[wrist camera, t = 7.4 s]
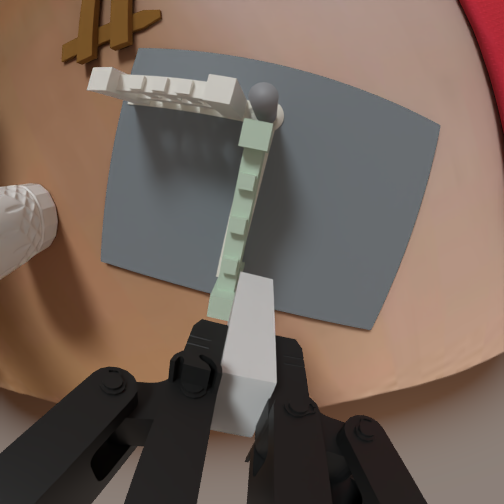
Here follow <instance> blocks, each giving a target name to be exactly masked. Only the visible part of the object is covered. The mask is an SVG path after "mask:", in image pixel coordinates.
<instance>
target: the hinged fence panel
mask: <svg viewBox="0 0 504 504" xmlns="http://www.w3.org/2000/svg"><path fill="white" fill-rule="evenodd" d="M248 98H249V101H250V104H251V106H252V109H253V111H254V113H255V116H256V118H257V120H253V119H247V118H244V121H243V125H242V130H241V135H240V139H239V144H238V146H241V147H244V150H243V154H242V159H241V164H240V169H239V174H238V179H237V184H236V189H235V194H234V199H233V204H232V209H231V214H230V219H229V224H228V230H227V235H226V240H225V246H224V251H223V256H222V262H221V267H220V273H219V276H218V279H217V281H216V283H215V285H214V288H213V290H212V292H211V295H210V300H209V306H208V312H207V316H208V317H212V318H217V319H221V320H225V321H228V320H229V316H230V312H231V308H232V304H233V300H234V296H235V292H236V288H237V284H238V280H239V276H240V272H243V270H244V265H245V262H242V259H243V255H244V250H245V245H246V240H247V236H248V231H249V226H250V221H251V217H252V212H253V207H254V203H255V198H256V193H257V189H258V184H259V179H260V175H261V170H262V165H263V161H264V156H265V153H269V149H270V144H271V140H272V135H273V122H274V121H275V120H276V117H277V108H278V99H279V94H278V91H277V89H276V88H275V87H274V86H273V85H272V84H270V83H267V82H260V83H257V84H255V85H254V86H252V88H251V89H250V91H249V94H248Z"/></svg>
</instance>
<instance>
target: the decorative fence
mask: <svg viewBox="0 0 504 504" xmlns="http://www.w3.org/2000/svg"><path fill="white" fill-rule="evenodd" d="M132 2H133V0H111V17H110V23H108V24H106V25H103V26H101V27H99V28H98V23H99V9H100V0H82V5H81V12H80V21H79V31H78V37H77V38H75V39H74V40H72V41H70V42H68V43H66V44H64V45H62V62H66V61H68V60H70V59H72V58H74V57H76V56H77V61H76V62H77V63H79V64H82V65H83V64H85V63H87V62H89V61H92V60H94V59H96V58H97V49H98V46H100V45H103V44H105V43H108V42H110V48H111V49H113V50H115V51H116V50H119V49H122V48H125V47H127V46H130V45H133V34H132V33H134V32H137V31H140V30H143V29H146V28H147V27H149V26H150V25H152V24H154V23H155V22H157V21H159V20H160V19H162V17H161V11H160V10H143V11H140V12H137V13H134V14H132Z"/></svg>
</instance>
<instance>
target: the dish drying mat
mask: <svg viewBox="0 0 504 504" xmlns="http://www.w3.org/2000/svg"><path fill="white" fill-rule="evenodd" d="M459 1H460V4H461V6H462V8H463V10H464V12H465V14H466V16H467V18H468V20H469V22H470V24H471V26H472V29H473V31H474V33H475V36H476V39H477V41H478V44H479V47H480V50H481V53H482V56H483V59H484V61H485V64H486V67H487V70H488V73H489V77H490V80H491V84H492V87H493V91H494V95H495V98H496V102H497V106H498V110H499V114H500V118H501V123H502V127H503V132H504V0H459Z"/></svg>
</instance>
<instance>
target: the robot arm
mask: <svg viewBox="0 0 504 504" xmlns="http://www.w3.org/2000/svg"><path fill="white" fill-rule="evenodd" d="M304 367H305V365H304V360H303V352H302V348H301V347H300V345H299V344H298V342H297V341H296V339H291V338H286V337H281V336H276V335H275V315H274V291H273V279H269V278H265V277H261V276H257V275H253V274H249V273H245V272H240V276H239V280H238V284H237V288H236V292H235V296H234V300H233V304H232V308H231V312H230V316H229V320H228V324H227V325H223V324H219V323H215V322H211V321H207V320H203V319H202V320H200V321H199V322H198V323H196V324H195V325H194V326H193V328H192V331H191V333H190V336H189V338H188V341H187V344H186V346H185V349H184V351H181V352H179V353H177V354H175V355H174V356H173V357H172V359H171V360H170V368H169V378H168V379H167V380H165V381H162V382H158V383H144V382H136V380H135V378H134V376H133V375H131V374H130V373H129V372H128V371H126V370H123V369H121V368H117V367H105V368H100V369H99V370H97V371H95V372H93V373H92V374H91V375H90V376H89V377H88V378H86V379H85V380H84V381H83V382H82V383H81V384H79V385H78V386H77V387H76V388H75V389H74V390H73V391H71V392H70V393H69V394H68V395H67V396H66V397H64V398H63V399H62V400H61V401H60V402H59V403H57V404H56V405H55V406H54V407H53V408H52V409H51V410H49V411H48V412H47V413H46V414H45V415H44V416H43V417H42V418H40V419H39V420H38V421H37V422H36V423H35V424H33V425H32V426H31V427H30V428H29V429H28V430H26V431H25V432H24V433H23V434H22V435H21V436H20V437H18V438H17V439H16V440H15V441H14V442H13V443H12V444H11V445H9V446H8V447H7V448H6V449H5V450H4V451H3V452H1V453H0V504H91V503H92V502H93V501H94V500H95V499H96V497H97V496H98V495H99V494H100V493H101V491H102V490H103V489H104V488H105V486H106V485H107V484H108V483H109V481H110V480H111V479H112V478H113V476H114V475H115V474H116V473H117V471H118V470H119V469H120V468H121V466H122V465H123V464H124V463H125V461H126V460H127V459H128V457H129V456H130V455H131V454H132V452H133V451H134V450H135V449H136V447H137V446H144V448H143V451H142V453H141V456H140V459H139V462H138V465H137V468H136V470H135V473H134V476H133V479H132V482H131V485H130V488H129V491H128V493H127V496H126V499H125V503H124V504H197V499H198V493H199V488H200V482H201V477H202V471H203V466H204V461H205V455H206V450H207V444H208V439H209V434H210V430H215V431H220V432H225V433H230V434H236V435H240V436H246V437H252V436H253V434H254V431H255V442H254V444H253V446H252V448H251V449H250V451H249V453H248V455H247V457H246V460H245V462H249V460H250V467H249V480H248V494H247V495H248V496H247V504H427V502H426V500H425V499H424V498H423V495H422V494H421V492H420V490H419V488H418V487H417V485H416V484H415V481H414V480H413V478H412V476H411V475H410V473H409V471H408V470H407V468H406V466H405V465H404V463H403V461H402V459H401V458H400V456H399V455H398V453H397V451H396V449H395V448H394V446H393V444H392V443H391V441H390V439H389V438H388V436H387V434H386V433H385V431H384V429H383V428H382V427H381V426H380V424H379V423H378V422H377V421H375V420H374V419H372V418H370V417H367V416H364V415H356V416H353V417H350V418H349V419H348V420H347V421H346V423H344V422H341V421H339V420H336V419H332V418H330V417H327V416H325V415H323V414H322V413H320V411H319V409H318V406H317V404H316V403H315V402H314V401H313V400H312V399H311V398H309V393H308V386H307V379H306V372H305V368H304Z"/></svg>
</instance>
